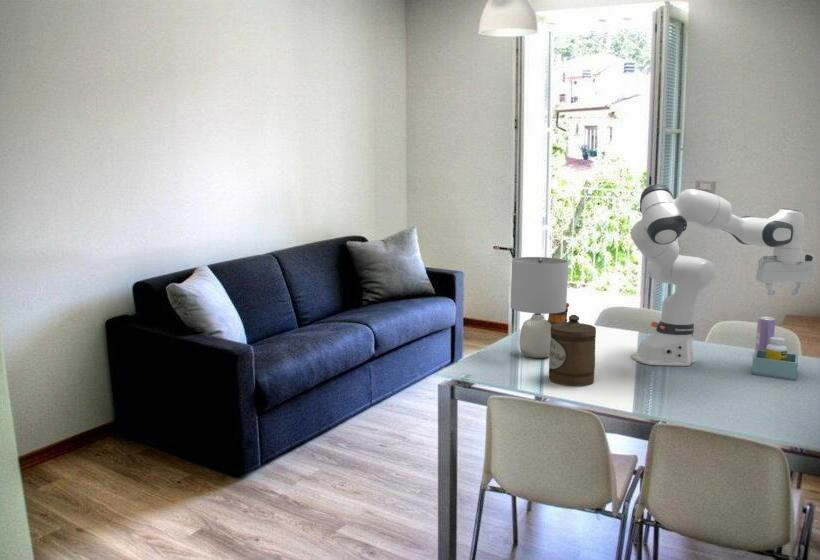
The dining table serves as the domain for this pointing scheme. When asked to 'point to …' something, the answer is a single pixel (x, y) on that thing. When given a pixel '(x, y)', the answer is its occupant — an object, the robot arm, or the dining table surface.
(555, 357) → the wooden container
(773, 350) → the pill bottle
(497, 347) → the dining table surface
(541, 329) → the lamp
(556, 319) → the mug
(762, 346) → the beverage can
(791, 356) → the caddy
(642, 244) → the robot arm
